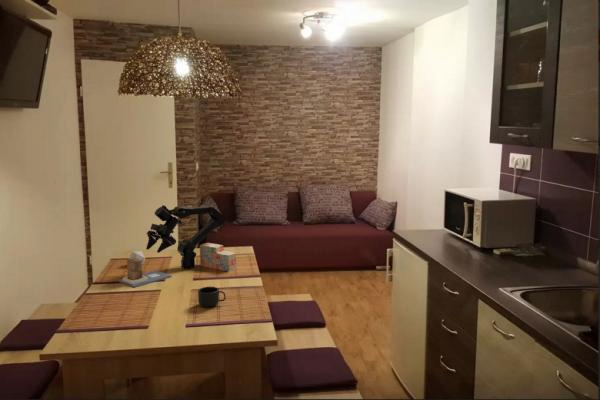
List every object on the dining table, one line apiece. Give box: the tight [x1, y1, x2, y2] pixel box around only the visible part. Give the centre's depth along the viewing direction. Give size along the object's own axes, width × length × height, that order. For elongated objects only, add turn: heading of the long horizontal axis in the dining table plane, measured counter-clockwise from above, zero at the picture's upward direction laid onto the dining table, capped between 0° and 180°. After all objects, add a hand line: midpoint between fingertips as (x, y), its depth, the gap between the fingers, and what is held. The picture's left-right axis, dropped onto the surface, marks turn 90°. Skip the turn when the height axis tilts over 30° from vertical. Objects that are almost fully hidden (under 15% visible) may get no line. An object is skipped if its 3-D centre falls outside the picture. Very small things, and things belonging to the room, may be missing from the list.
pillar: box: [126, 258, 143, 281], centre depth 254 cm, size 5×5×10 cm
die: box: [128, 250, 146, 265], centre depth 284 cm, size 8×9×10 cm
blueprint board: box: [118, 270, 173, 288], centre depth 260 cm, size 22×14×2 cm, turn 141°
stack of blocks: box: [199, 242, 237, 272], centre depth 280 cm, size 21×6×12 cm, turn 56°
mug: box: [197, 286, 227, 308], centre depth 224 cm, size 12×9×7 cm
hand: (152, 250), depth 263 cm, fingers open, 9 cm apart
